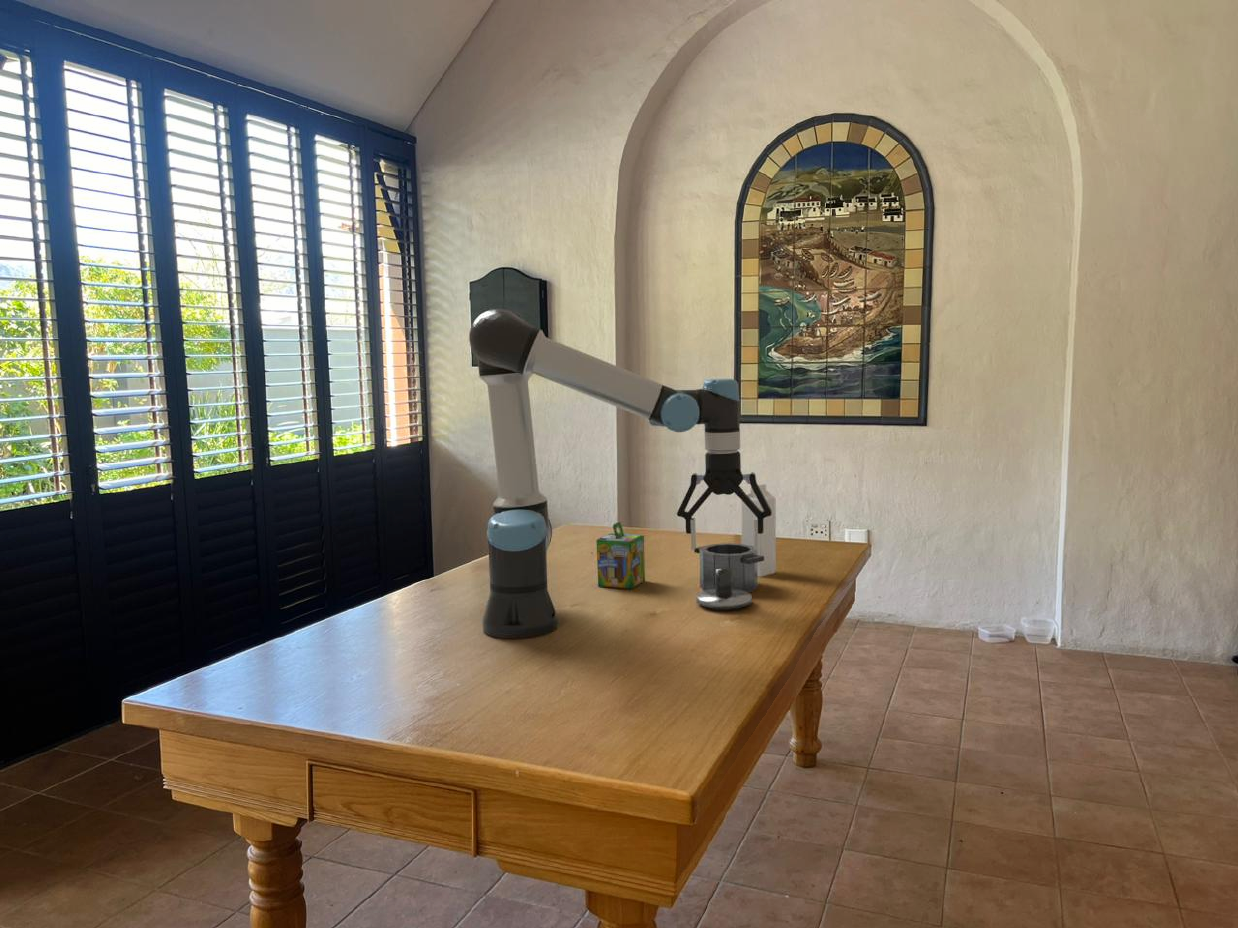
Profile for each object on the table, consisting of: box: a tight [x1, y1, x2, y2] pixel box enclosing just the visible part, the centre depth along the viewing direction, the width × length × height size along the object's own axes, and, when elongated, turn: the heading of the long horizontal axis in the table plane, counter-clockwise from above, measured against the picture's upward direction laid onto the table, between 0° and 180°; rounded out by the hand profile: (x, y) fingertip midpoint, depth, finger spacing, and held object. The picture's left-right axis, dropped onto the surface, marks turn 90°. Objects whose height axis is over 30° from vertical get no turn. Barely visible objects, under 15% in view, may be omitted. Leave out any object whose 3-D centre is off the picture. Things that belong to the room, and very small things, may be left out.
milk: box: [741, 483, 777, 578], centre depth 232 cm, size 6×6×22 cm
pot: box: [693, 542, 764, 593], centre depth 220 cm, size 13×18×9 cm
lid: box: [695, 567, 753, 611], centre depth 205 cm, size 12×12×8 cm
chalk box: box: [596, 521, 646, 590], centre depth 225 cm, size 9×9×15 cm
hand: (724, 548), depth 204 cm, fingers open, 13 cm apart
